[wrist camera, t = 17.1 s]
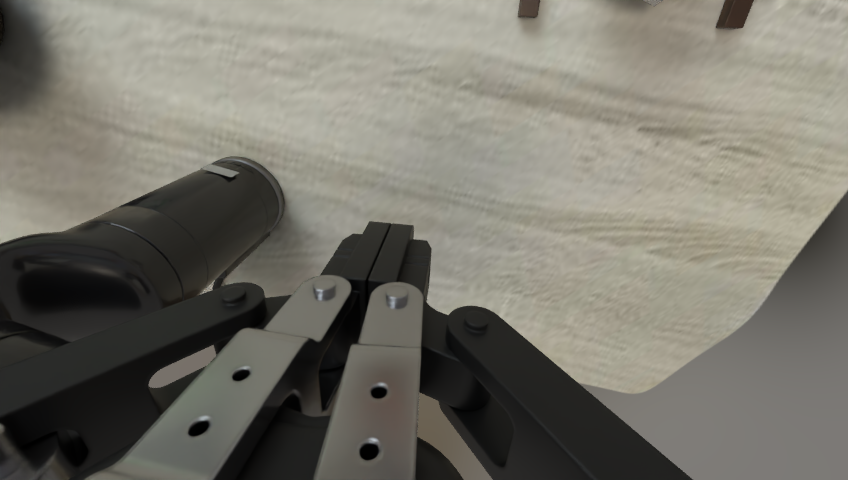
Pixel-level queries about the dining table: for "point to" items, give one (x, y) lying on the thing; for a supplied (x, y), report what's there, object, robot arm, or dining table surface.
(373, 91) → the dining table surface
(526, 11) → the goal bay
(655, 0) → the die
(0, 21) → the pitcher
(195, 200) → the robot arm
